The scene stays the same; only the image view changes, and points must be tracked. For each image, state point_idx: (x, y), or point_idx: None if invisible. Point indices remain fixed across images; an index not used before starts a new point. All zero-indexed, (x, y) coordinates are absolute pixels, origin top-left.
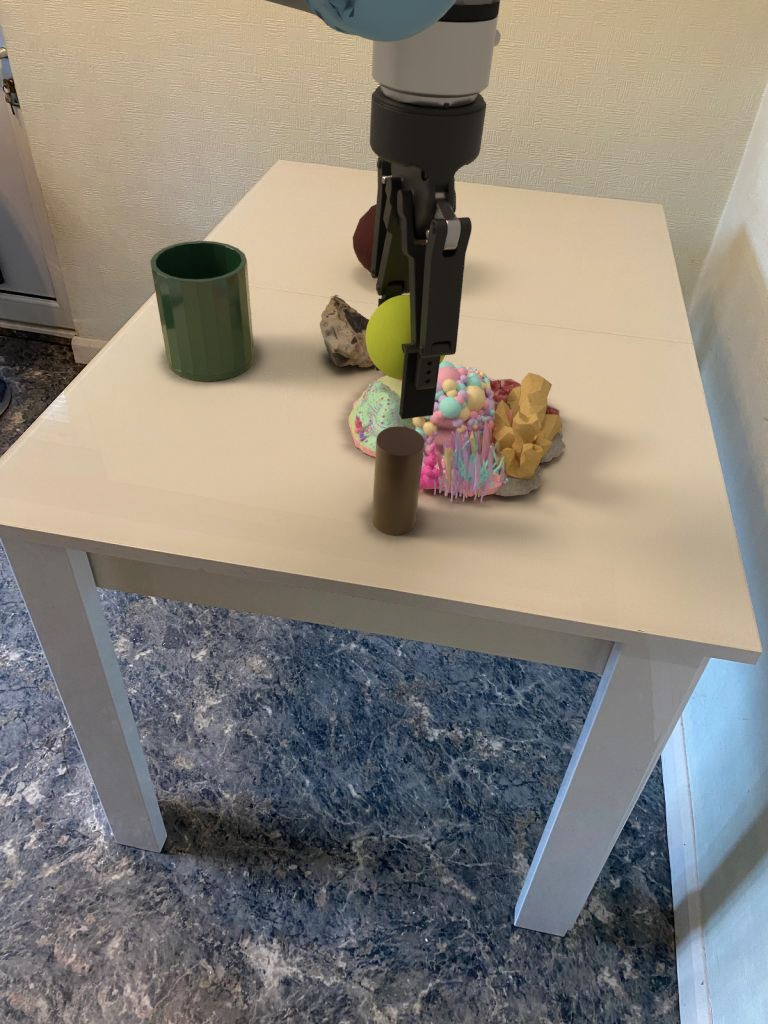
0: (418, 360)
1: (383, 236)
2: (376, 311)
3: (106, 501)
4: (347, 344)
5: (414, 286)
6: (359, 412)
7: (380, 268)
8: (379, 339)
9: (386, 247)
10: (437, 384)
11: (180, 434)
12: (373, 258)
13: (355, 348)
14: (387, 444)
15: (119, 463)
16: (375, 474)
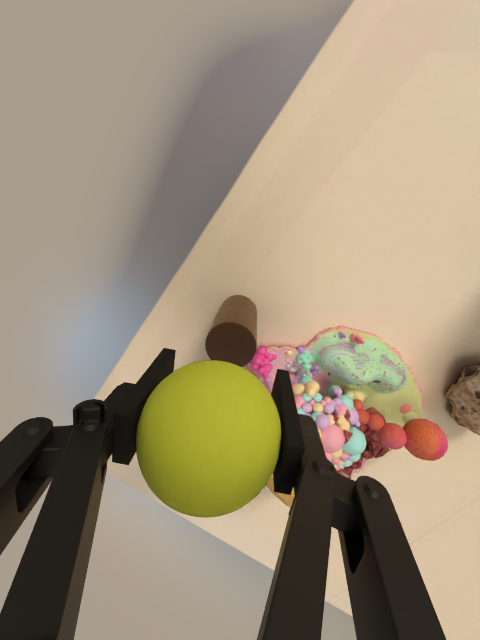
0: (108, 412)
1: (382, 612)
2: (233, 422)
3: (393, 41)
4: (477, 386)
5: (32, 545)
6: (375, 348)
7: (327, 510)
8: (180, 387)
9: (301, 590)
10: (321, 425)
11: (460, 162)
12: (386, 520)
13: (468, 391)
14: (229, 331)
15: (451, 72)
16: (237, 310)
